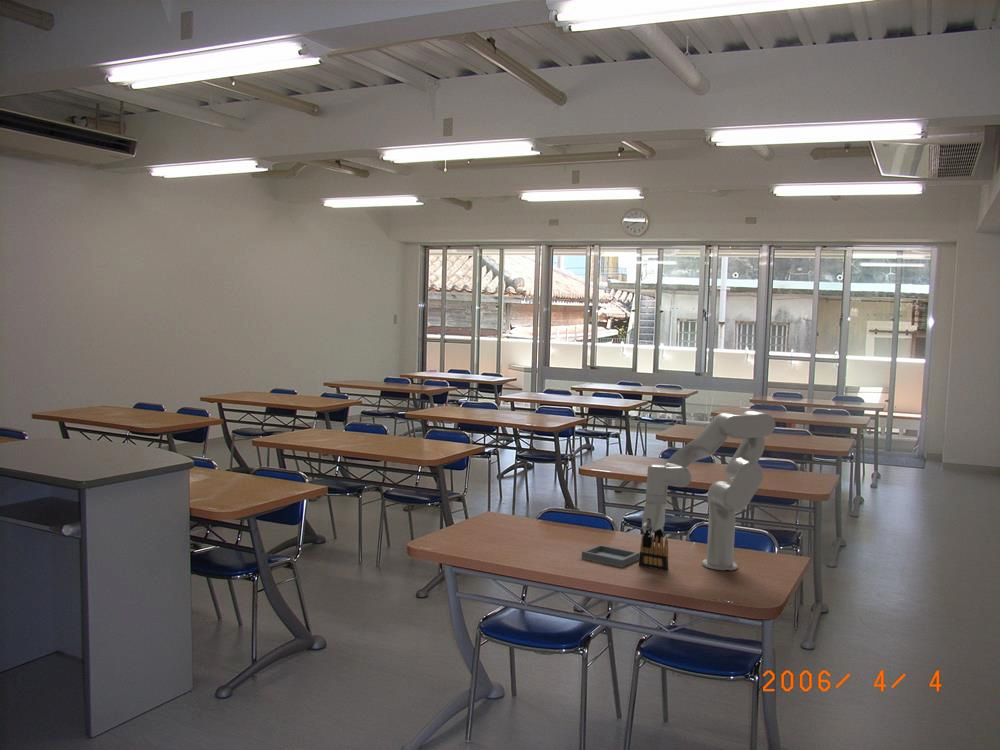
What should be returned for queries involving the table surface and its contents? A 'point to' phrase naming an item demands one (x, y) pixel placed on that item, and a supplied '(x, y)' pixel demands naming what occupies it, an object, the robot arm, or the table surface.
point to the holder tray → (610, 555)
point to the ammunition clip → (654, 554)
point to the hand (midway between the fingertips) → (652, 545)
